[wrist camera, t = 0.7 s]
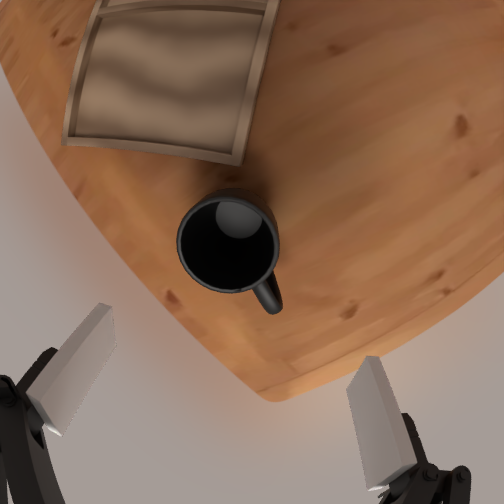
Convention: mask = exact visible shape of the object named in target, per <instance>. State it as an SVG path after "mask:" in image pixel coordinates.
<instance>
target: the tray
mask: <svg viewBox="0 0 504 504" xmlns="http://www.w3.org/2000/svg"><path fill="white" fill-rule="evenodd" d="M280 2H281V0H97V1H96V3H95V6H94V8H93V11H92V13H91V16H90V19H89V21H88V24H87V27H86V30H85V33H84V36H83V39H82V42H81V45H80V49H79V52H78V56H77V59H76V63H75V67H74V71H73V75H72V80H71V84H70V89H69V94H68V99H67V105H66V111H65V117H64V124H63V132H62V141H61V145H70V146H88V147H102V148H113V149H124V150H133V151H142V152H151V153H158V154H166V155H173V156H180V157H186V158H193V159H199V160H205V161H211V162H216V163H222V164H227V165H232V166H238V167H240V166H242V165H243V160H244V155H245V150H246V146H247V141H248V136H249V132H250V127H251V123H252V118H253V113H254V109H255V105H256V100H257V96H258V91H259V87H260V83H261V78H262V74H263V70H264V66H265V61H266V57H267V53H268V49H269V45H270V41H271V37H272V33H273V29H274V25H275V21H276V17H277V13H278V9H279V6H280Z"/></svg>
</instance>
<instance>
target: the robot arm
mask: <svg viewBox="0 0 504 504" xmlns="http://www.w3.org/2000/svg"><path fill="white" fill-rule="evenodd" d="M116 346H117V345H116V339H115V331H114V323H113V313H112V306H108V305H105V304H102V303H99V304H98V305H97V306H96V307H95V308H94V309H93V310H92V312H91V313H90V314H89V315H88V316H87V317H86V318H85V319H84V321H83V322H82V323H81V324H80V325H79V327H77V329H76V330H75V331H74V332H73V333H72V334H71V336H70V337H69V338H68V339H67V340H66V342H65V343H64V344H63V345H62V346H61V348H60V349H59V350H57V349H55V348H53V347H51V348H49V349H47V350H46V351H44V352H43V353H42V354H41V355H40V356H39V358H38V359H37V361H35V362H34V364H33V365H32V367H30V369H29V370H28V371H27V372H26V373H25V375H24V376H23V377H22V379H21V380H20V381H19V382H18V384H17V385H16V386H15V384H14V382H13V381H12V379H11V378H10V377H8V376H6V375H0V504H8V497H7V481H8V485H9V488H10V493H11V496H12V500H13V503H14V504H65V501H64V499H63V496H62V494H61V491H60V489H59V485H58V483H57V480H56V477H55V474H54V471H53V467H52V464H51V461H50V457H49V453H48V449H47V445H46V441H45V437H44V432H43V429H42V426H43V424H44V423H45V425H46V426H47V427H48V429H49V430H51V431H53V432H54V433H56V434H58V435H60V436H63V435H64V433H65V431H66V429H67V427H68V426H69V424H70V422H71V420H72V418H73V417H74V415H75V413H76V411H77V409H78V408H79V406H80V405H81V403H82V401H83V399H84V398H85V396H86V394H87V393H88V391H89V389H90V387H91V386H92V384H93V383H94V381H95V379H96V378H97V376H98V375H99V373H100V371H101V370H102V368H103V367H104V365H105V363H106V362H107V360H108V359H109V357H110V356H111V354H112V352H113V351H114V349H115V348H116ZM346 391H347V395H348V399H349V404H350V408H351V412H352V417H353V421H354V425H355V430H356V435H357V439H358V444H359V449H360V454H361V459H362V464H363V470H364V475H365V481H366V487H367V491H370V490H375V489H381V488H383V487H384V486H386V485H387V484H389V487H390V488H389V489H388V490H386V491H385V492H383V493H381V494H380V495H379V496H378V498H380V497H382V496H383V495H384V496H383V498H382V500H381V501H380V503H379V504H442V501H443V504H469V502H470V491H471V473H470V471H469V469H468V468H467V467H465V466H463V465H462V466H458V467H456V468H455V469H453V470H452V471H444V470H439V469H438V468H437V466H435V465H434V464H431V463H428V461H427V458H426V455H425V452H424V449H423V446H422V443H421V440H420V438H419V437H418V436H419V435H418V432H417V431H416V427H415V424H414V421H413V420H412V418H411V417H410V416H409V415H408V413H401V412H400V409H399V407H398V404H397V401H396V399H395V396H394V394H393V391H392V388H391V386H390V383H389V381H388V378H387V376H386V373H385V371H384V368H383V366H382V363H381V361H380V359H379V357H376V356H366V358H365V359H364V361H363V363H362V365H361V366H360V368H359V370H358V371H357V373H356V375H355V376H354V378H353V380H352V381H351V383H350V384H349V386H348V388H347V389H346Z"/></svg>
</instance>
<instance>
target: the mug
mask: <svg viewBox="0 0 504 504" xmlns="http://www.w3.org/2000/svg"><path fill="white" fill-rule="evenodd" d="M176 243H177V252H178V256H179V259H180V262H181V263H182V265H183V267H184V269H185V271H186V272H187V273H188V274H189V275H190V276H191V277H192V279H194V280H195V281H196V282H198V283H199V284H200V285H202V286H204V287H206V288H208V289H210V290H213V291H217V292H220V293H240V292H244V291H247V290H250V289H252V290H253V292H254V293H255V295H256V297H257V298H258V300H259V302H260V303H261V305H262V306H263V308H264V309H265V310H266V311H267V312H268V313H269V314H272V315H273V314H277V313H279V312H280V311H281V310H282V309H283V303H282V298H281V294H280V290H279V287H278V284H277V281H276V277H275V274H274V271H273V269H274V268H275V266H276V263H277V260H278V257H279V247H280V243H279V233H278V227H277V222H276V220H275V217H274V215H273V213H272V211H271V209H270V208H269V207H268V205H267V204H266V202H265V201H263V200H262V199H261V198H260V197H259V196H258V195H256V194H254V193H252V192H250V191H248V190H244V189H240V188H227V189H222V190H218V191H215V192H213V193H211V194H209V195H207V196H205V197H204V198H203V199H202V200H200V201H199V202H198V203H197V204H195V205H194V206H193V207H192V208H191V209H190V210H189V211H188V212H187V213H186V215H185V216H184V217H183V219H182V221H181V223H180V226H179V228H178V232H177V238H176Z"/></svg>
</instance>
